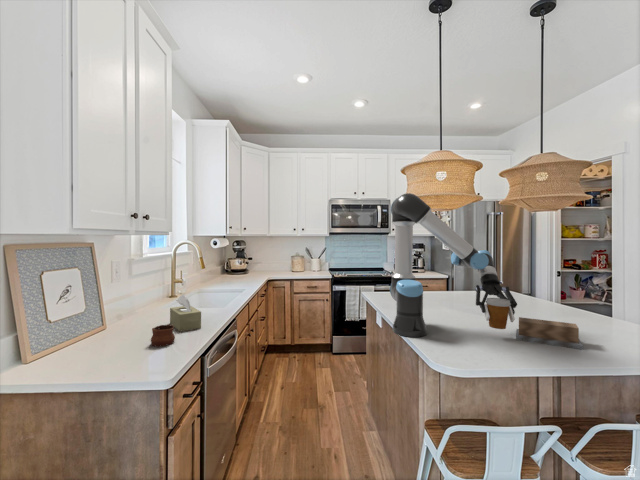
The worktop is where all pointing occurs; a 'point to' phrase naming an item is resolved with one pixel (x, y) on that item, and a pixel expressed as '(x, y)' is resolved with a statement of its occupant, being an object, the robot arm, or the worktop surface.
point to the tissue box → (185, 315)
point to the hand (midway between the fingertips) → (500, 319)
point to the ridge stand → (549, 332)
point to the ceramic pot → (162, 335)
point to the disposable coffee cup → (498, 312)
